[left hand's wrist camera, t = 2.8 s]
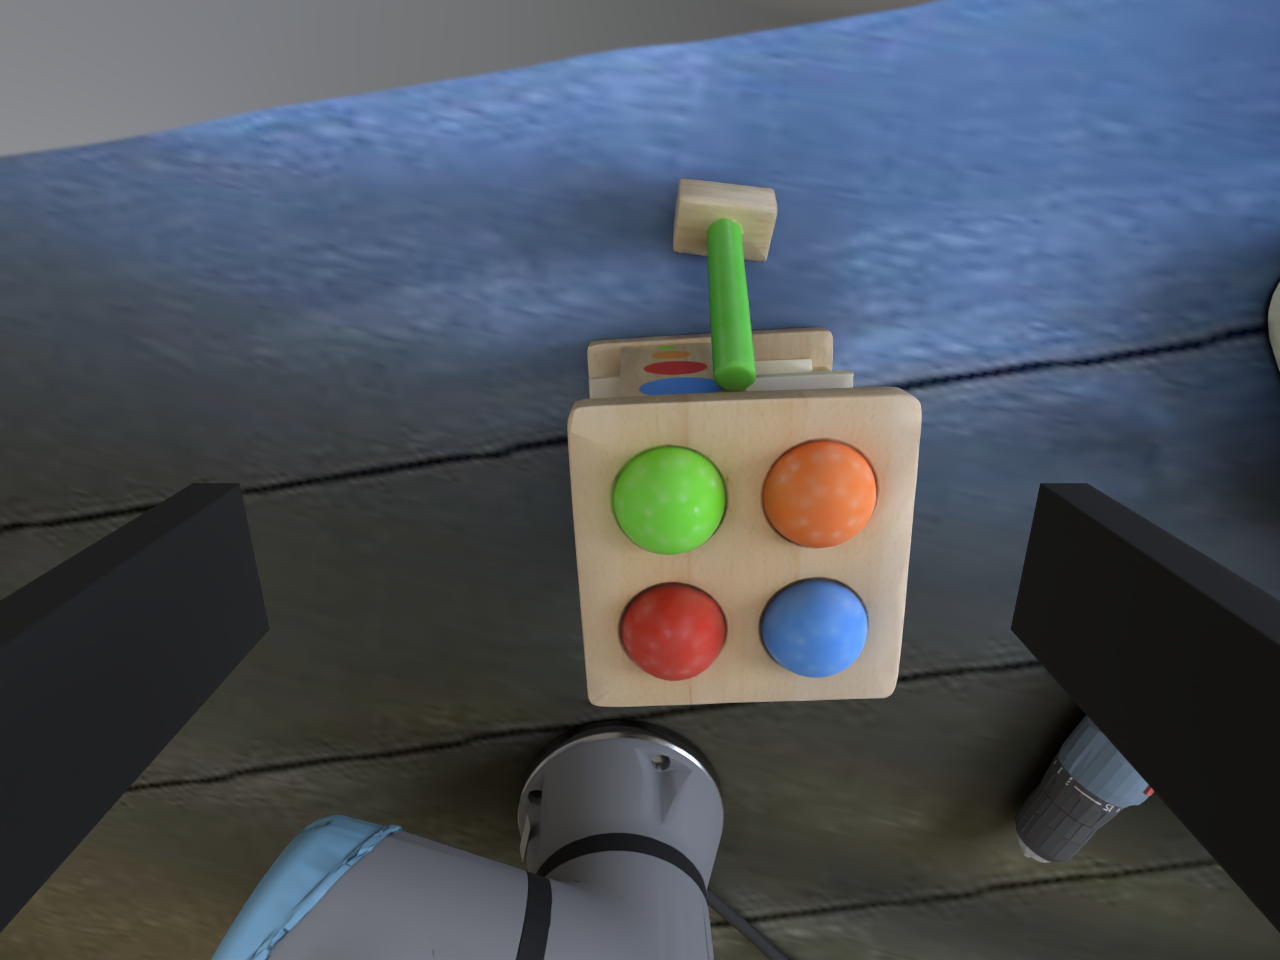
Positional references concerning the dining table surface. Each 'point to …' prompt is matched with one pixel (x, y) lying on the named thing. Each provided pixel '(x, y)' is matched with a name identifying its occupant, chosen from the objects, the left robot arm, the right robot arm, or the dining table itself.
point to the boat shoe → (1275, 324)
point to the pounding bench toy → (738, 498)
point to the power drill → (1077, 796)
